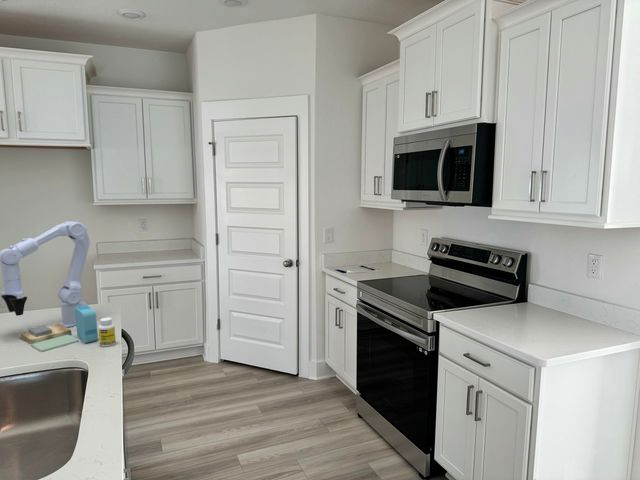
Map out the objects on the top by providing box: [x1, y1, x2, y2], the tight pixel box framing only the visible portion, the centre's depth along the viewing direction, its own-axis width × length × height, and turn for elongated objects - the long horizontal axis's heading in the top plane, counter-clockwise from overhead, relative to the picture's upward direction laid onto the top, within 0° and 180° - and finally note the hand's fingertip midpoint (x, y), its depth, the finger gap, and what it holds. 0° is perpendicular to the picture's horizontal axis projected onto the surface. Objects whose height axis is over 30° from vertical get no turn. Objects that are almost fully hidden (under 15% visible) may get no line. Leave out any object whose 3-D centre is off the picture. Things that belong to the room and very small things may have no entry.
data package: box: [75, 304, 99, 344], centre depth 171 cm, size 12×4×12 cm, turn 42°
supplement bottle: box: [98, 317, 117, 347], centre depth 165 cm, size 5×5×10 cm
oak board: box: [19, 323, 73, 345], centre depth 174 cm, size 14×12×2 cm
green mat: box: [30, 335, 80, 353], centre depth 167 cm, size 13×10×1 cm
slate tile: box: [27, 324, 52, 337], centre depth 173 cm, size 6×8×2 cm
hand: (16, 313), depth 174 cm, fingers open, 7 cm apart
